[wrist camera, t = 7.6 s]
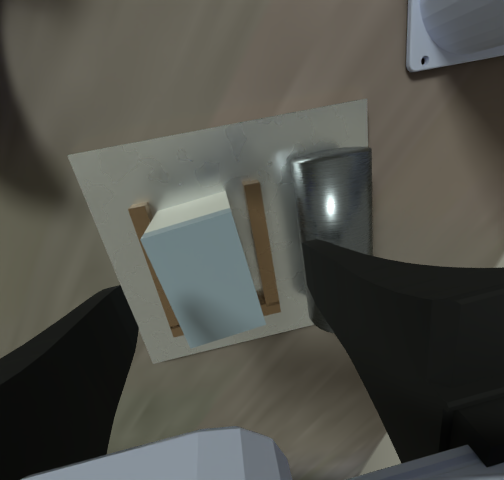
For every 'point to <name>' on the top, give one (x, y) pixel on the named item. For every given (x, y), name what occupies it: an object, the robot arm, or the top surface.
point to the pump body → (203, 269)
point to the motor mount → (237, 208)
